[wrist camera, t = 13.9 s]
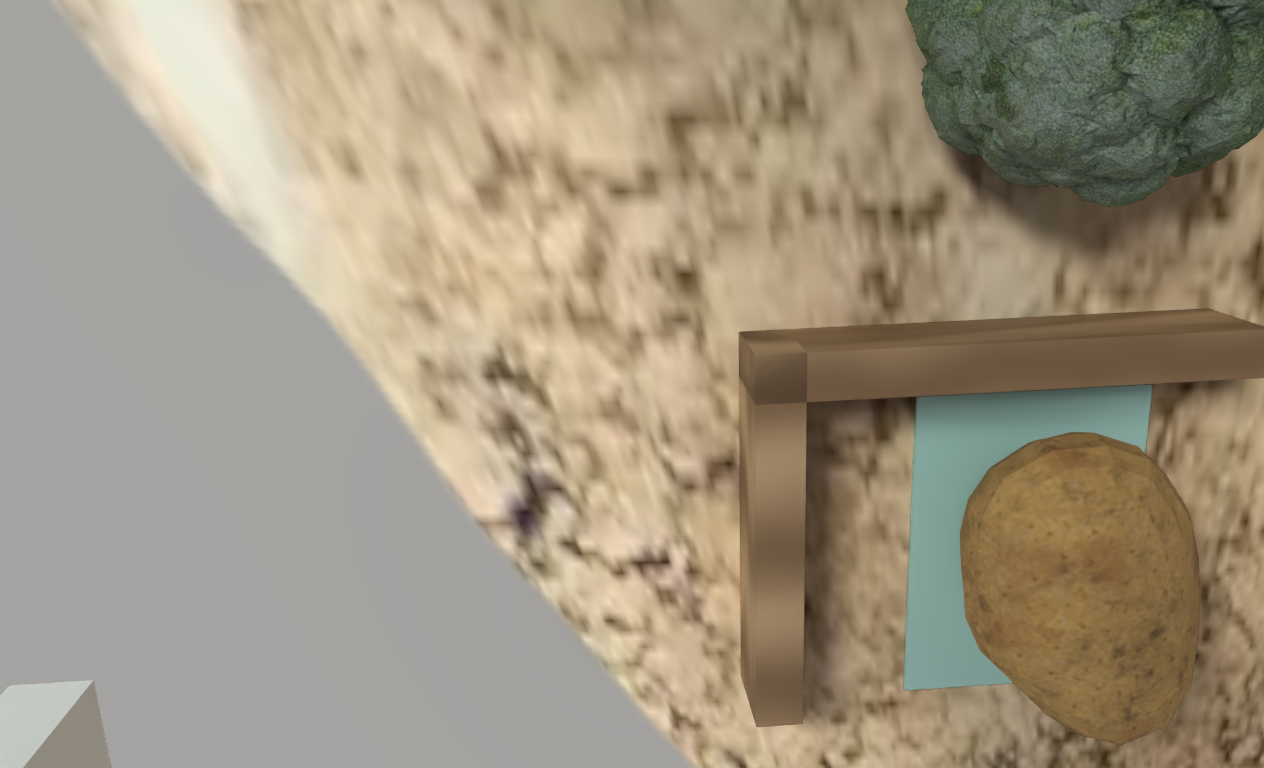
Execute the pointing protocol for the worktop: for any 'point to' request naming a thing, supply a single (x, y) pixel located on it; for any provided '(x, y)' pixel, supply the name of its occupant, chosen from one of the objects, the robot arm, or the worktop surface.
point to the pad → (944, 480)
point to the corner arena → (907, 367)
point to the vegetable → (1093, 87)
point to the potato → (1084, 583)
